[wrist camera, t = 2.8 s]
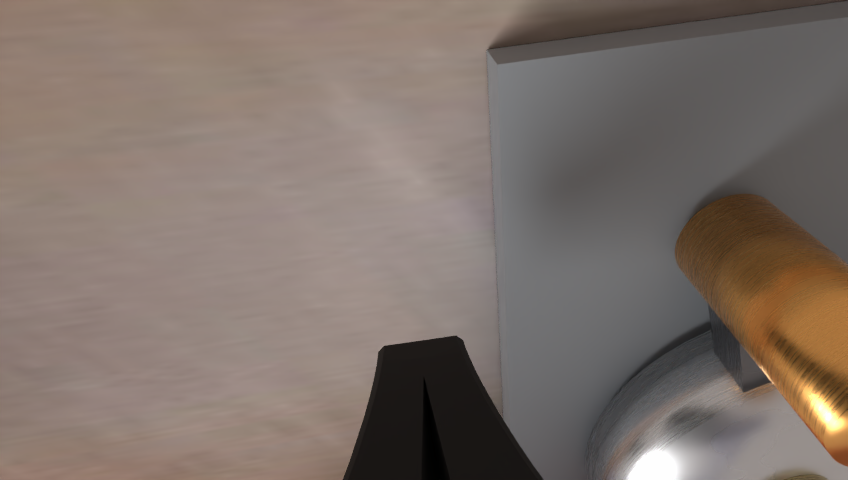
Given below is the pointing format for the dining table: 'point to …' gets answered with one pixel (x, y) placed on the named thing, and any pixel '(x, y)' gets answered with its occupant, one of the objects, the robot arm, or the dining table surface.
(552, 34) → the dining table surface
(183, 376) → the dining table surface
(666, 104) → the stand
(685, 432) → the crank wheel
